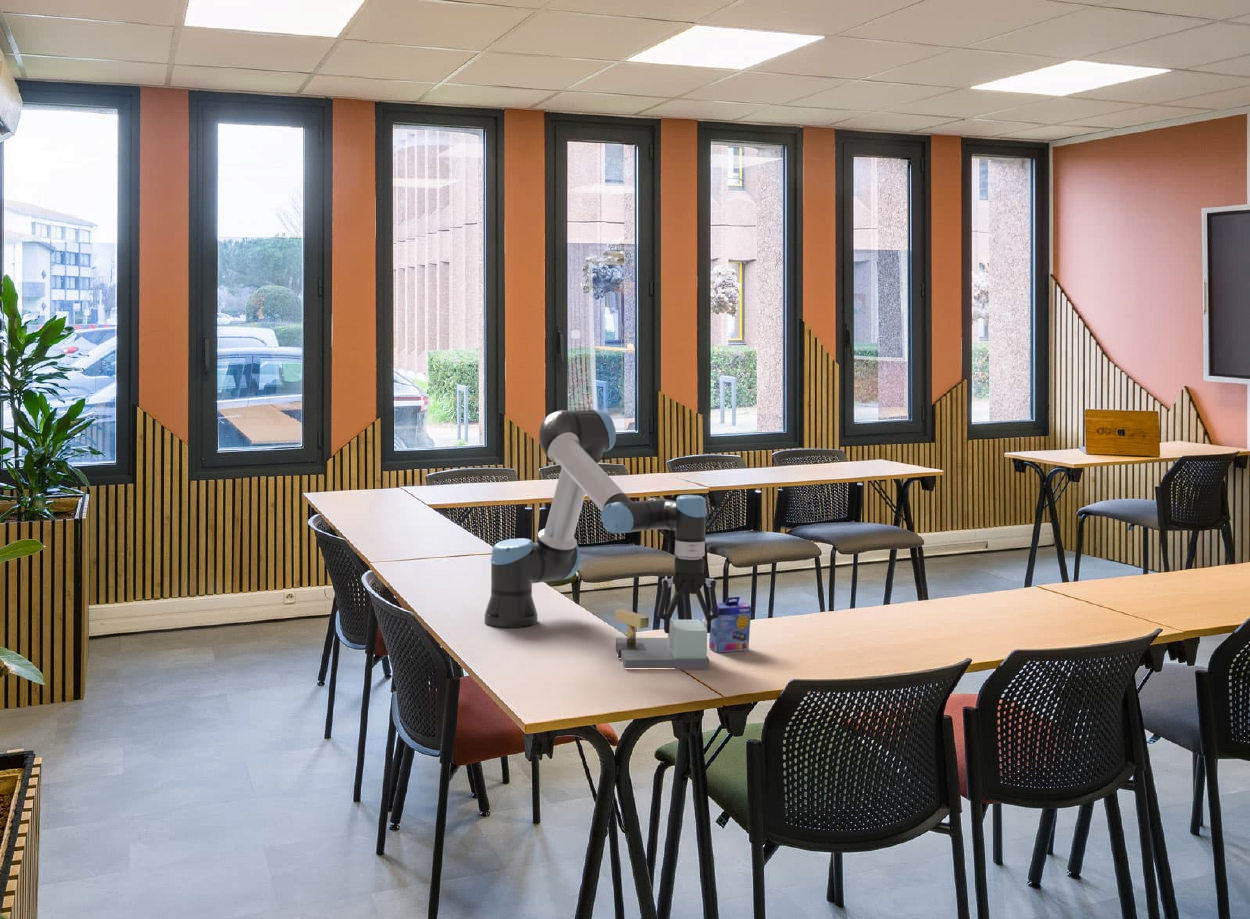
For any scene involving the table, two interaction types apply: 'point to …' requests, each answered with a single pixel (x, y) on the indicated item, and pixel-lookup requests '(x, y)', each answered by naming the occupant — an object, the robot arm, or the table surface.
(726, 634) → the ink cartridge box
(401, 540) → the table surface
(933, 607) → the table surface
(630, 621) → the wooden t-shaped block
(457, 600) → the table surface
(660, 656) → the panel
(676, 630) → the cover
